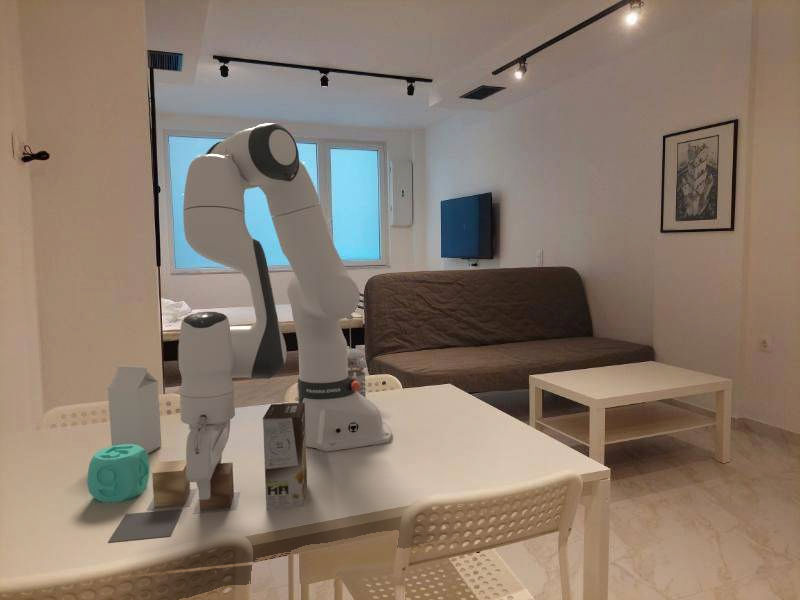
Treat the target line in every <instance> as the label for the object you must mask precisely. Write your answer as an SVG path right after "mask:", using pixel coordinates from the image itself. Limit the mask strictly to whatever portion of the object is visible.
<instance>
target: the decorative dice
mask: <svg viewBox="0 0 800 600" xmlns="http://www.w3.org/2000/svg"><path fill="white" fill-rule="evenodd" d="M149 457H150V456H149V453H148V454H147V452H146V451H145V450H144V449H143V448H142V447H141V446H139V445H135V444H122V445H115V446H112V445H111V446H108V447H104V448H102V449H100V450H98V451H96V452H95V453H94V455H93V456H92V458H91V460H90V462H89V466H88V468H87V469H88V470H87V479H86V481H87V488H88V492H89V494H90V495H91V496H92V497H93V498H94V499H95V500H96V501H99V502H101V503H116V502H117V503H118V502H119V503H120V502H124V501H127V500H130V499H134V498H136V497H139V496H140V495H141V494H143V493H144V491H145V490H147V489H146V488H147V486H148V483H149V479H150V478H149V477H150V458H149Z"/></svg>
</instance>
